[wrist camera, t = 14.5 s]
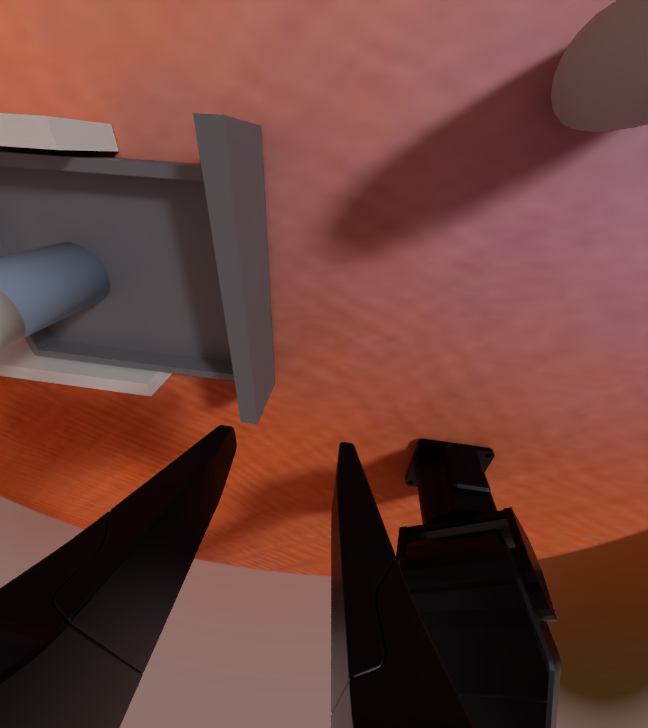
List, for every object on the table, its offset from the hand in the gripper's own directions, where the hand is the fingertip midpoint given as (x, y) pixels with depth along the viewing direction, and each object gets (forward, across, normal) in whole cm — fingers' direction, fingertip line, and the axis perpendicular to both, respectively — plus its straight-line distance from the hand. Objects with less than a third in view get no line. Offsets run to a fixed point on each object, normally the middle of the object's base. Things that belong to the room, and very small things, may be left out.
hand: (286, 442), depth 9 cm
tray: (+13, +14, 0) cm, 19 cm away
